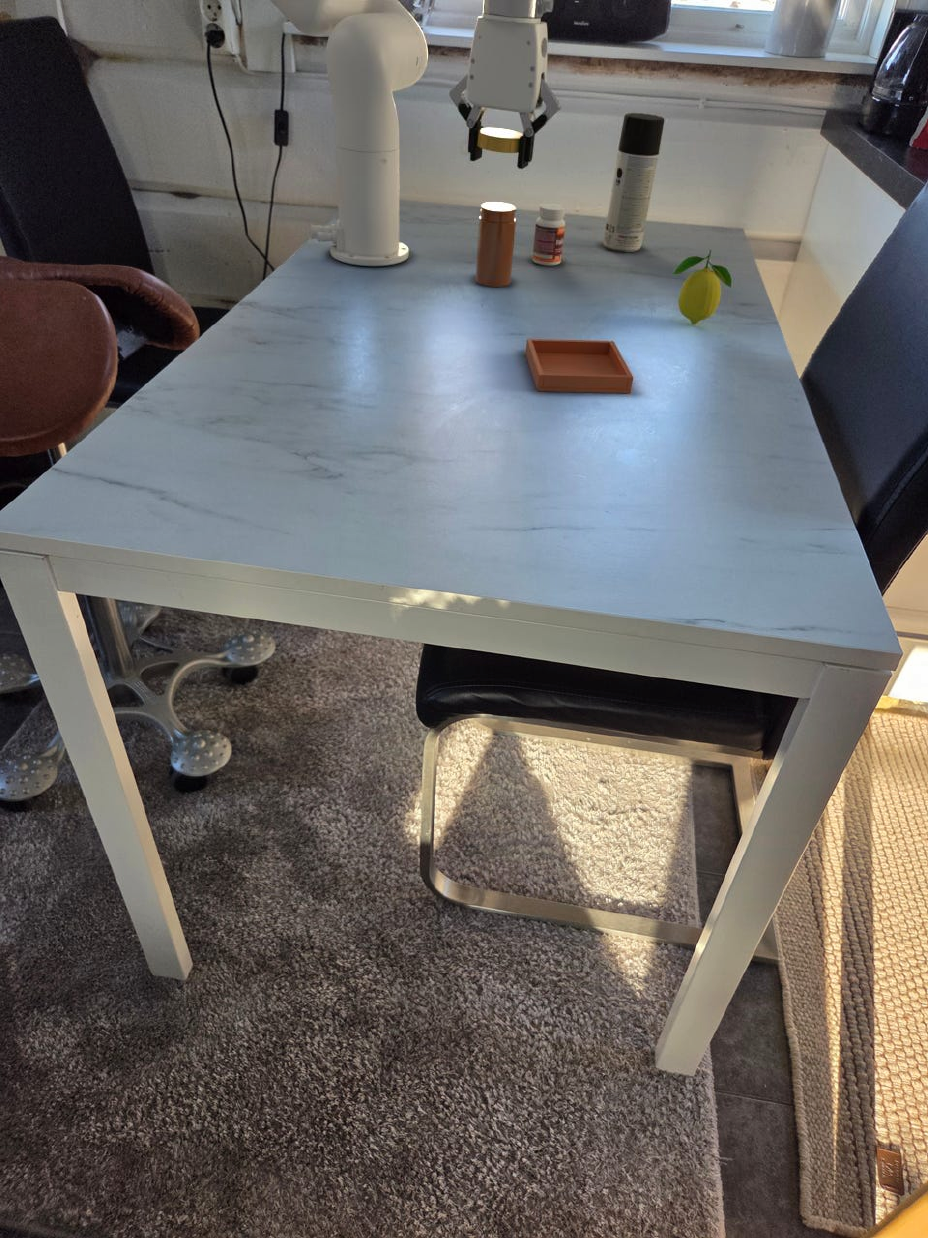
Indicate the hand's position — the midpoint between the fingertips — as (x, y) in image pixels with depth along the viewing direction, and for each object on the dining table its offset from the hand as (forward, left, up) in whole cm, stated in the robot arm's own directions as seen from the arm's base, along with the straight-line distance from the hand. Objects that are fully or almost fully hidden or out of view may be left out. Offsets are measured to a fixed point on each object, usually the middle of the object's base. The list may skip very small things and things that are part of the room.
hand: (499, 161), depth 117 cm
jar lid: (0, 0, +3) cm, 3 cm away
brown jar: (0, 0, -16) cm, 16 cm away
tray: (+7, -34, -16) cm, 39 cm away
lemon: (+27, -16, -17) cm, 36 cm away
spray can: (+25, +21, -17) cm, 37 cm away
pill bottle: (+10, +11, -17) cm, 22 cm away
